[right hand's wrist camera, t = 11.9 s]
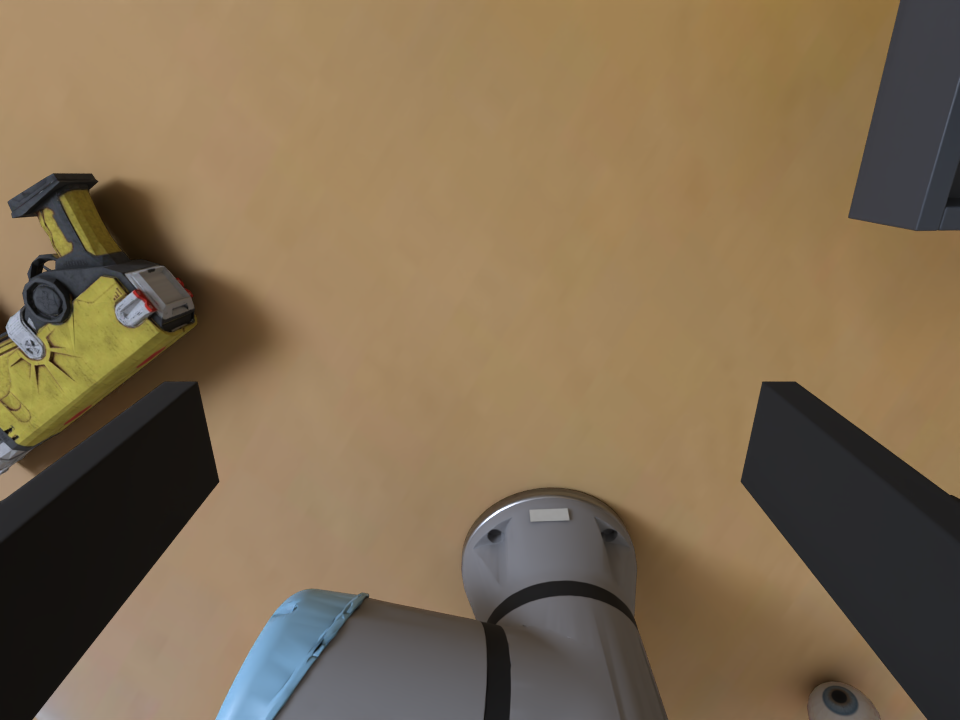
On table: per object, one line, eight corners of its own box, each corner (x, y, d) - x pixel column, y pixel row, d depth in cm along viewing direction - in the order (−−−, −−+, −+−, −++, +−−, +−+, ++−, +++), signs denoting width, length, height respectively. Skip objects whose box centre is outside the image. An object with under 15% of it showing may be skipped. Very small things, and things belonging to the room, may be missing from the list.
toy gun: (-206, 340, 37) (-37, 498, 40) (-5, 120, 30) (176, 330, 34) (-126, 322, 41) (20, 466, 44) (64, 127, 35) (217, 312, 38)
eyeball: (850, 659, 52) (895, 720, 47) (859, 699, 54) (902, 762, 49) (789, 675, 53) (826, 736, 48) (800, 714, 55) (835, 777, 50)
